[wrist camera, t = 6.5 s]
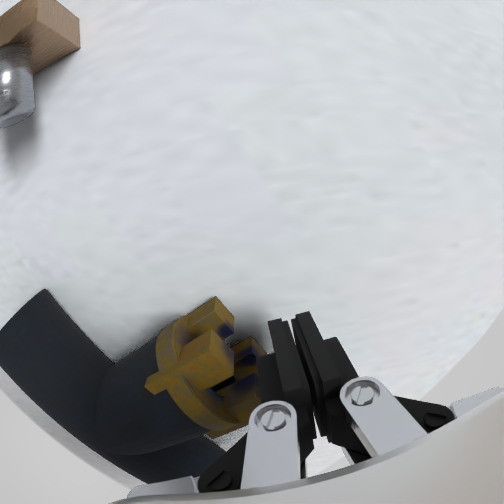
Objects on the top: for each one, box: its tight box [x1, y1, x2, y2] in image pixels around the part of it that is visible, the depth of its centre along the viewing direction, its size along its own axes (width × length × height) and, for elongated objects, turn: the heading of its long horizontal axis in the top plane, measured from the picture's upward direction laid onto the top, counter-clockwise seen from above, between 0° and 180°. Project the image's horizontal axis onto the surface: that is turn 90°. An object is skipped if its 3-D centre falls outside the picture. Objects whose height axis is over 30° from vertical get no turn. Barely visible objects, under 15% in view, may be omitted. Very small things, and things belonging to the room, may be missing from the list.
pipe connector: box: [0, 289, 267, 484], centre depth 12 cm, size 12×5×15 cm
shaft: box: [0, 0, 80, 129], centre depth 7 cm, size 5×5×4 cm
